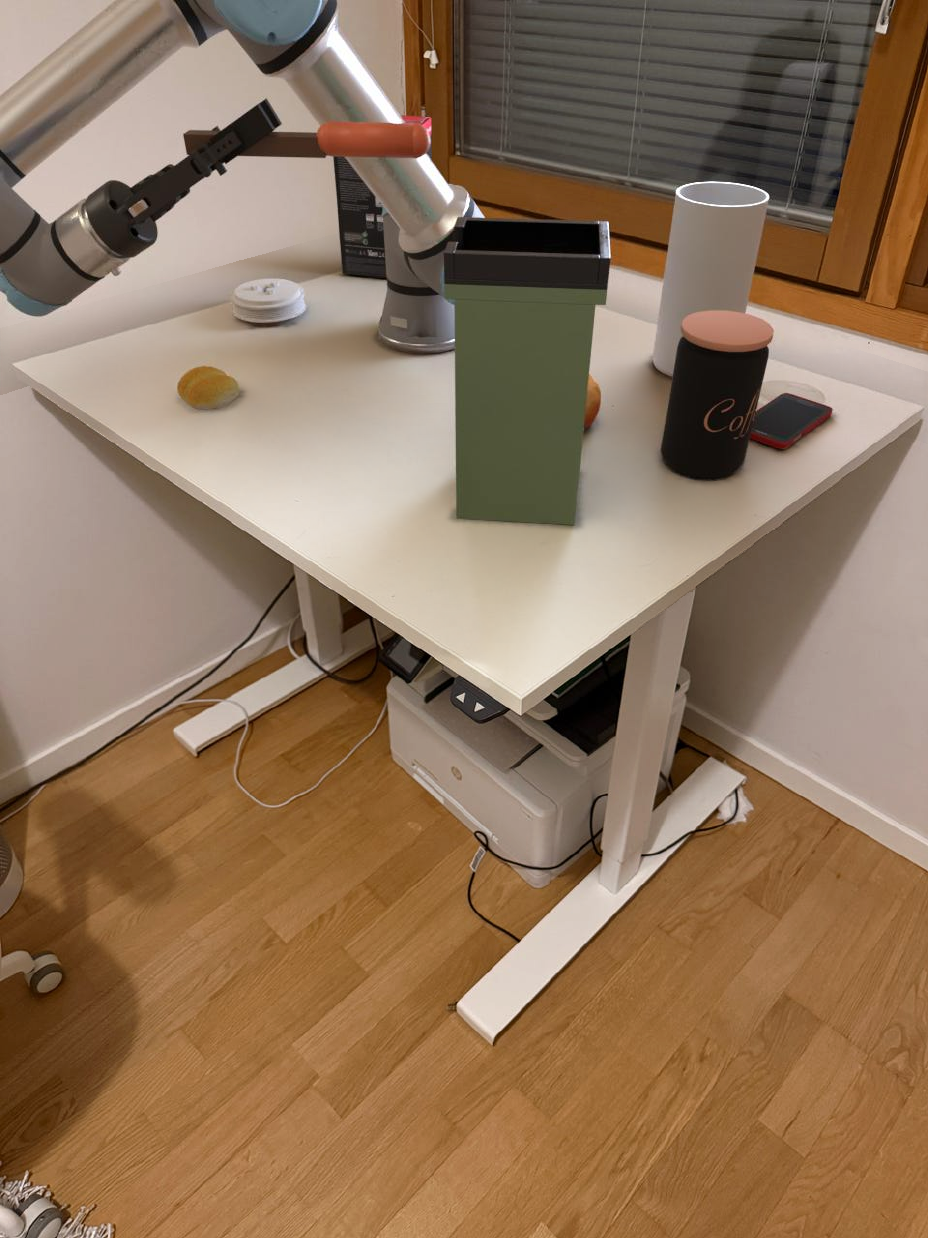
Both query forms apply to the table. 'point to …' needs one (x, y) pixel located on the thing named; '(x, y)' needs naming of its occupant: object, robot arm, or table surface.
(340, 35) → the robot arm
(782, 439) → the cell phone
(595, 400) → the fruit
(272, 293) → the lid
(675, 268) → the cylinder vase
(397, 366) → the table surface
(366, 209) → the graphics card box
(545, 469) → the shelf stand
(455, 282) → the black rectangular open tray
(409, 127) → the brown orange rod
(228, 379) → the bread roll
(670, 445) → the coffee jar
